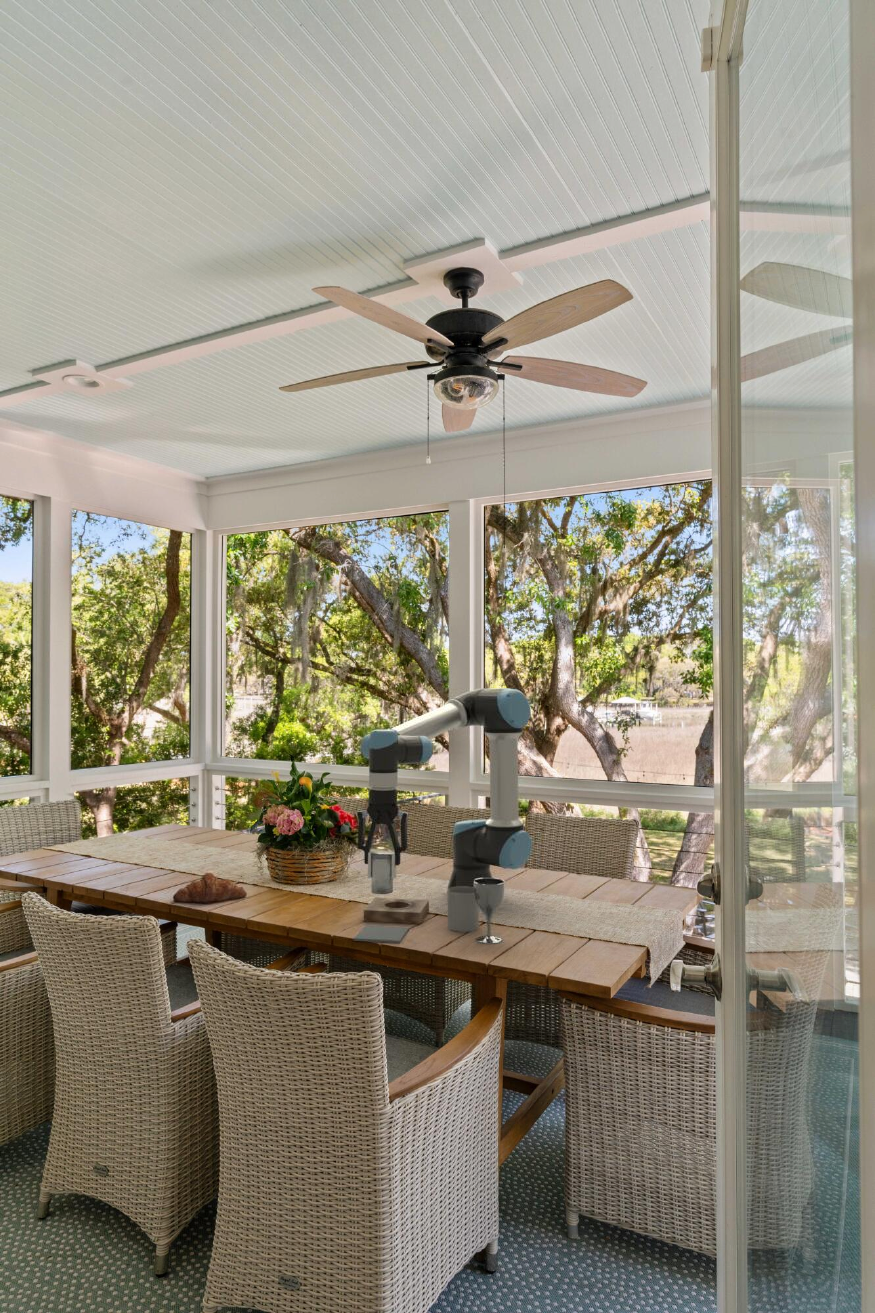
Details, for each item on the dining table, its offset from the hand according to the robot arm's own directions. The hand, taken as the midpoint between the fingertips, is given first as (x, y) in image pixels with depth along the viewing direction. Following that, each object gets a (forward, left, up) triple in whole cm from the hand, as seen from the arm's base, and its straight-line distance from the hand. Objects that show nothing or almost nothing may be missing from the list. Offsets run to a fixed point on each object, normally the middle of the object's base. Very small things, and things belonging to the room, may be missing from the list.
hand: (382, 877), depth 218 cm
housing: (0, -19, -15) cm, 24 cm away
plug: (0, 0, -4) cm, 4 cm away
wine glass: (-28, -1, -15) cm, 32 cm away
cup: (-20, -11, -15) cm, 28 cm away
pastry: (+60, -27, -16) cm, 68 cm away
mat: (0, 0, -15) cm, 15 cm away
